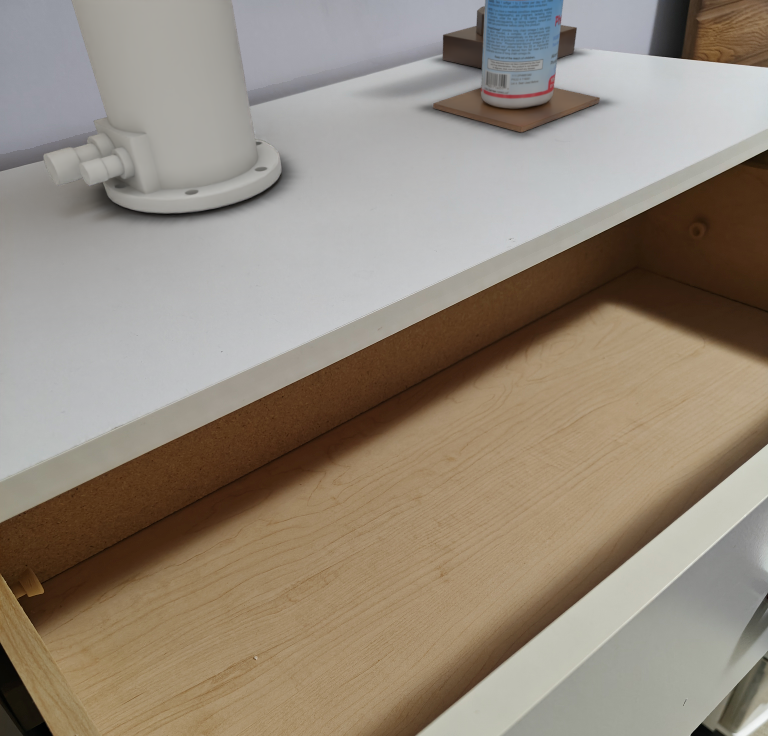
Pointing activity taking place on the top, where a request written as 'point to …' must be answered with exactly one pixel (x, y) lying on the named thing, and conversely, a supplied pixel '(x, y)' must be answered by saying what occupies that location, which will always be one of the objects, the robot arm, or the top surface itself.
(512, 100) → the pill bottle
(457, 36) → the button housing
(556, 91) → the coaster
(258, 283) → the top surface
